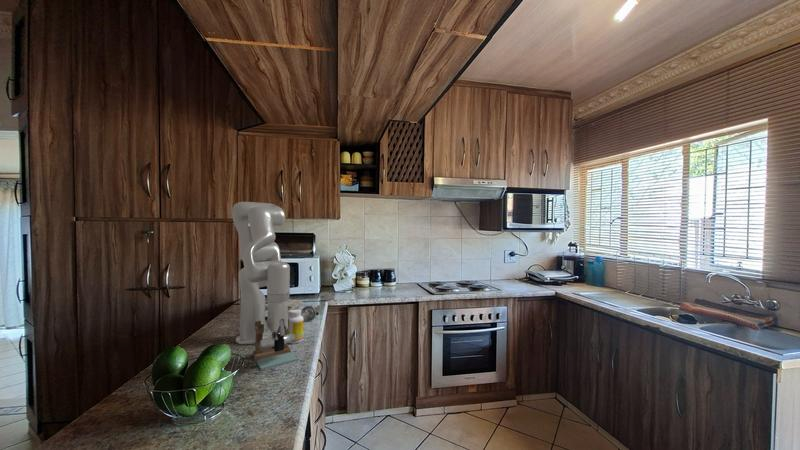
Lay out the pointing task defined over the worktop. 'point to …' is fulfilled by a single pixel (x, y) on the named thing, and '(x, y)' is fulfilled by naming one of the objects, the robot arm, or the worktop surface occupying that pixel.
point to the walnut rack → (266, 352)
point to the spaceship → (310, 312)
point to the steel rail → (270, 342)
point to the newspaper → (290, 305)
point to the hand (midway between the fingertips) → (277, 348)
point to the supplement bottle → (296, 325)
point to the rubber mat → (276, 360)
